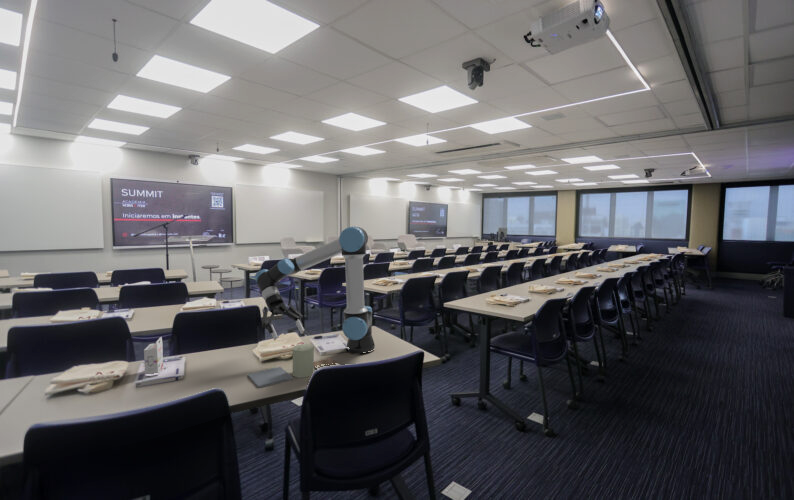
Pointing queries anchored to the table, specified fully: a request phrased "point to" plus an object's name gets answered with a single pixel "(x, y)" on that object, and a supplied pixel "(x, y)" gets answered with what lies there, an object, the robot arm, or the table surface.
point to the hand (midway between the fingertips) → (289, 335)
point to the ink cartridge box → (153, 357)
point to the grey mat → (269, 377)
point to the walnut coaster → (325, 362)
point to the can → (303, 360)
